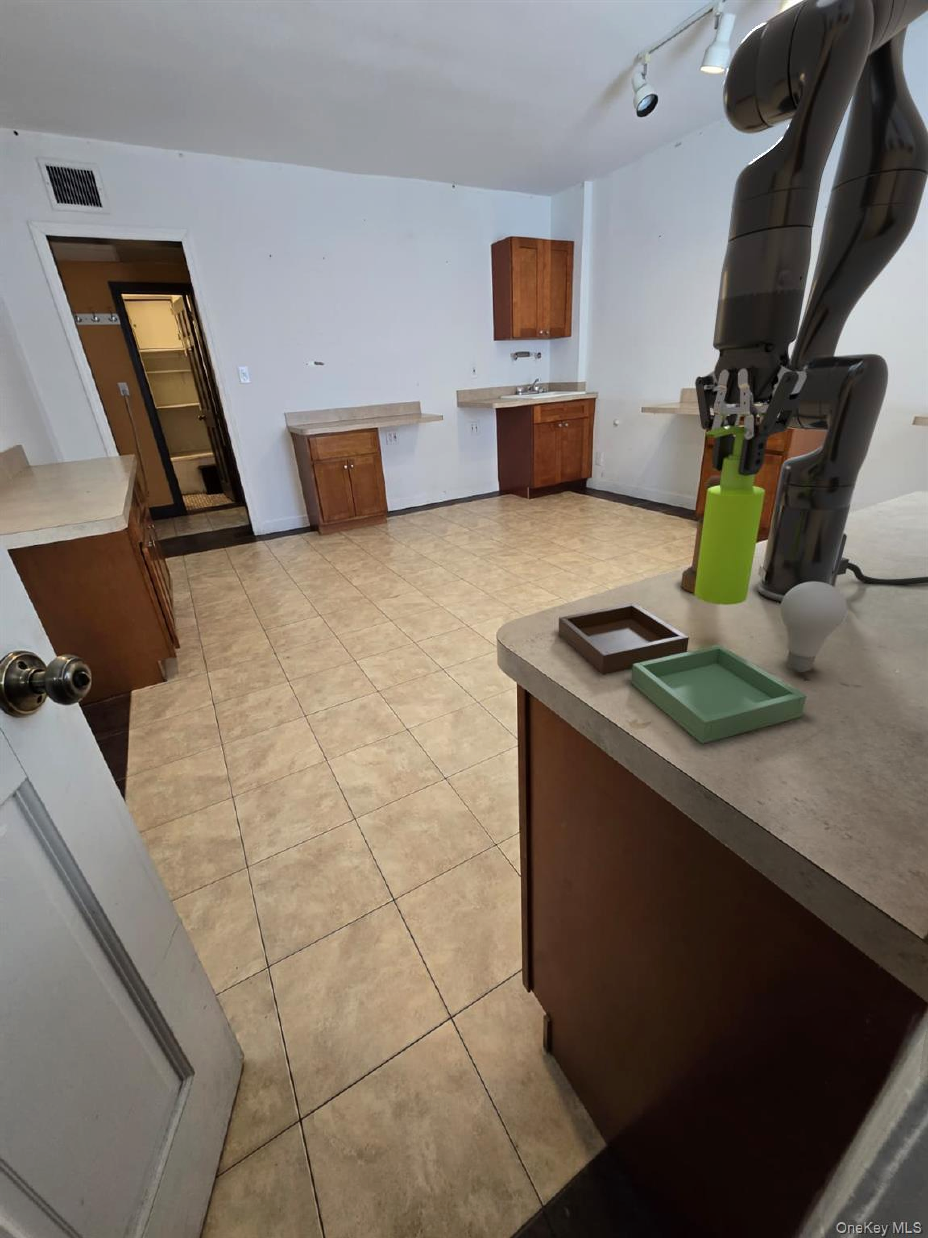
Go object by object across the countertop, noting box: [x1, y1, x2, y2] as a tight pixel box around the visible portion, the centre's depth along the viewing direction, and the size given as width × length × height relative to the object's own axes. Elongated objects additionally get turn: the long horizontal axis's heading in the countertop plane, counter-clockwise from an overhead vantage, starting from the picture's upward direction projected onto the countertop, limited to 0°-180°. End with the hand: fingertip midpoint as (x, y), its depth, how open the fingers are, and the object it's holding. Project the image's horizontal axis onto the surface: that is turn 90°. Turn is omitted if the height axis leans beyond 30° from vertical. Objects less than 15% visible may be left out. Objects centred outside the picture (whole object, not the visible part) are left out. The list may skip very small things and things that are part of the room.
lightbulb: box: [780, 582, 848, 673], centre depth 58 cm, size 6×6×11 cm
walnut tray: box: [558, 602, 690, 675], centre depth 68 cm, size 12×12×3 cm
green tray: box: [631, 644, 807, 744], centre depth 56 cm, size 12×12×3 cm
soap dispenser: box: [693, 424, 766, 606], centre depth 60 cm, size 6×7×20 cm
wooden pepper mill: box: [680, 475, 721, 594], centre depth 81 cm, size 7×6×18 cm
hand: (734, 471), depth 57 cm, fingers closed on soap dispenser, 3 cm apart
